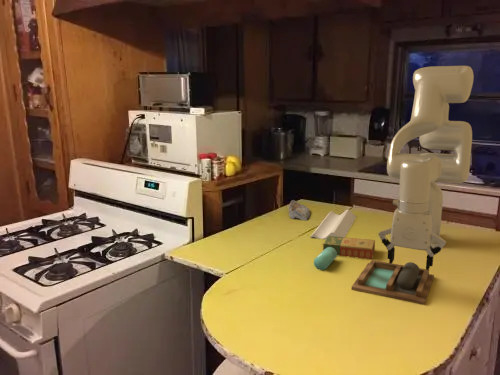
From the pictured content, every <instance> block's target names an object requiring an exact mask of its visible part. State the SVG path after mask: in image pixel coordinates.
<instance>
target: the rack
mask: <svg viewBox="0 0 500 375" xmlns="http://www.w3.org/2000/svg"><path fill="white" fill-rule="evenodd" d="M404 265H405V264H399V263H398V264H397V263H394V262H393V263H391V264H390V263H389V262H386V261H382V260H381V261H380V260H374V259H371V261H370V262H368V263H367V264H366V265H365V267H364V268H363V270H362V271H361V273H360V274H359V276H358V277H357V278H356V280H355V281H354V283H353V284H352V285H351V290H354V291H357V292H363V293H367V294H373V295H378V296H382V297H386V298H392V299H396V300H401V301H407V302H410V303H413V304H415V303H416V304H420V305H421V304H422V305H424V306H425V305H426V303H427V302H426V301H427V299H428V296H429V293H430V290H431V288H432V283H433V281H434V278H435V274H432V273H430V269H429V270H427V269H426V268H420V267H419V269H420V272H419V275H418V277H417V279H416V282H415V284H414V286H413V288H412V289H409V290H405V289H402V288H401V287H399V285H398V283H397V279H398V277H399V275H400V273H401V271H402V269H403V267H404Z"/></svg>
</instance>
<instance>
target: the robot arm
mask: <svg viewBox="0 0 500 375" xmlns="http://www.w3.org/2000/svg"><path fill="white" fill-rule="evenodd" d="M474 77H475V76H474V71H473V69H472V67H471V66H469V65H445V66H444V65H443V66H442V65H439V66H438V65H437V66H426V67H421V68H418V69H416V70H414V72H413V76H412V83H413V86H414V90H415V91H414V99H413V105H412V111H411V116H410V121H409V122H407V123H406V124H404V126H402V127H401V128H400V129H399V130H398V131H397V133H396V134H395V135H394V136H393V138H392V140H391V142H390V145H389V146H390V147H389V151H388V155H387V156H388V157H387V161H386V172H387V175H388V177H389V178H391V179H393V180H397V181H399V186H398V187H399V190H398V192H399V193H398V199H393V200H392V205H395V206H396V207H397V208H395V210H394V212H393V217H392V223H391V227H389V228H386V229H384V230H383V229H382V230H380V231H379V232H378V237H379V239H380V240H381V243H382V244H383V245H384V246H385V247H386V250H387V260H388V263H390V264H391V263H393V264H394V261H395V247H398V248H399V247H400V248H406V249H412V250H417V251H425V252H426V254H427V255H426V264H425V265H426V266H425V269H427V270H429V271H430V269H431V268H430V267H433V264H434V256H435V255H436V254H438V253H440V252H441V251H442V250H443V248H444V247H445V245H446V244H447V240H445V239H444V238H443V237H441V225H442V214H443V202H444V194H443V191H442V189H441V188H440V186H439V185H438V183H448V184H463V183H465V182H467V180H468V178H469V176H470V175H469V174H470V166H471V154H472V145H473V144H472V142H473V130H472V126H471V124H470V123H469V122H466V121H463V120H462V121H461V120H449V115H450V114H449V112H450V105H449V104H462V103H463V104H464V103H465V102H467V101H468V100H469V98H470V95H471V92H472V88H473V84H474ZM416 138H419V144H420V146H421V148H424V149H426V150H427V149H429V150H443V151H453V152H454V153H455V154H453V153H441V152H440V153H438V152H437V153H436V152H425V153H419V154H418V153H406V152H405V153H403V152H402V153H401V151H402V148H403V147H404V146H405V145H406V144H408V143H409V142H410V141H412V140H415V139H416ZM388 235H390V240H389V239H388V238H387V237H386V236H388Z"/></svg>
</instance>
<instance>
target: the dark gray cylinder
mask: <svg viewBox="0 0 500 375" xmlns="http://www.w3.org/2000/svg"><path fill="white" fill-rule="evenodd" d="M403 265H404V267H403V269H402V271H401V273H400V275H399V277H398V279H397V283H398V285H399V287H401V288H402V289H405V290H409V289H412V288H413V286H414V284H415V282H416V279H417V277H418V275H419V272H420V269H419V268H420V267H419V266H418V264H417V263H415V262H412V261H411V262H410V261H409V262H406V263H405V264H403Z"/></svg>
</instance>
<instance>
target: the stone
mask: <svg viewBox="0 0 500 375" xmlns="http://www.w3.org/2000/svg"><path fill="white" fill-rule="evenodd" d="M287 209H288V216H289V218H290V219H291V220H292V219H299V220H301V221H308V220H309V219H310V217H311V212H310V211H311V210H310V208H309V207H308V206H306V205H305V204H302V203H299V202H298V201H296V200H294V199H293V200H291V201H290V202H289V204H288V208H287Z"/></svg>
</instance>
